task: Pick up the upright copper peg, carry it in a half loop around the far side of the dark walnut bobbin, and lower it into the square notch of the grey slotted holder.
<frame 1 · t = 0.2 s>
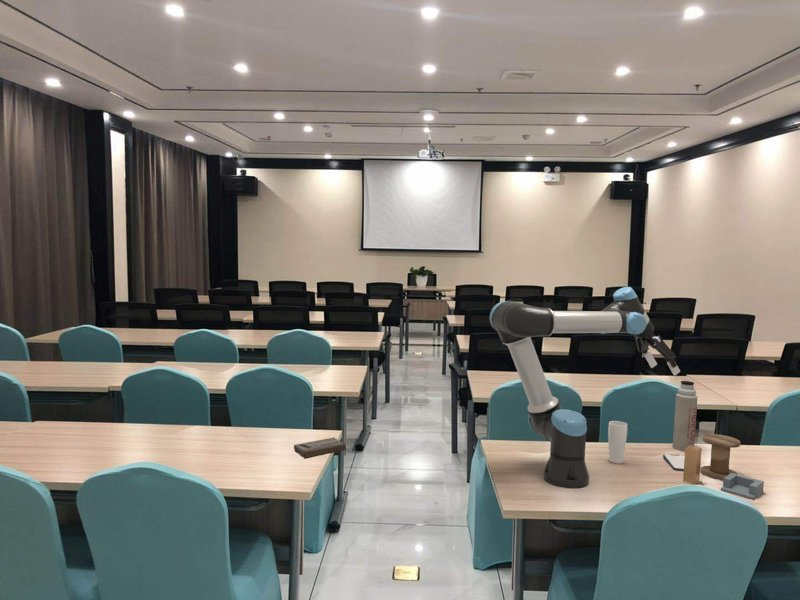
hand: (665, 369, 231), 35 cm above the table, tool tilted 35°, fingers open, 13 cm apart
smartphone: (679, 466, 229), on the table
grey slotted holder: (741, 491, 203), on the table
box: (319, 453, 232), on the table
drinking glass: (615, 462, 230), on the table
bobbin: (718, 474, 219), on the table
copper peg: (691, 481, 211), on the table
thermos bottle: (683, 448, 248), on the table
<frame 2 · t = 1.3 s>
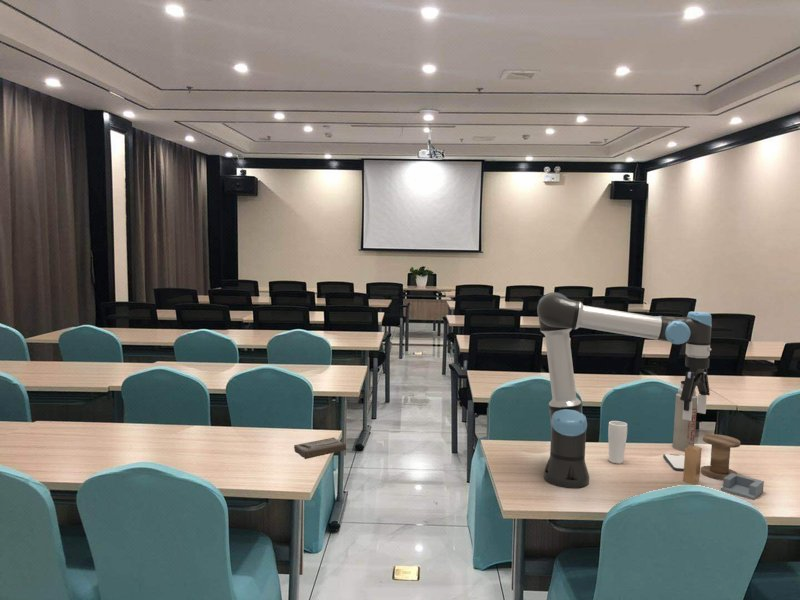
hand: (694, 416, 210), 23 cm above the table, tool pointing down, fingers open, 13 cm apart
nothing on the table moved.
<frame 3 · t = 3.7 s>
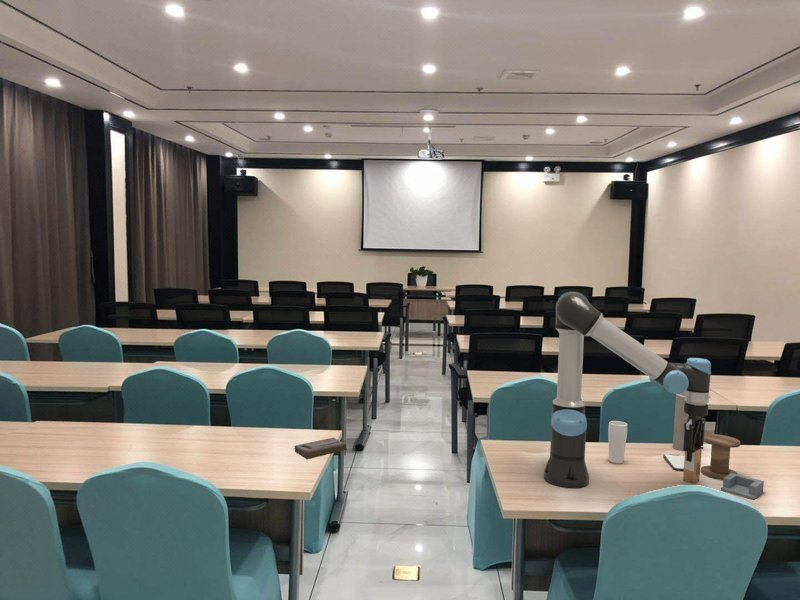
hand: (692, 468, 211), 5 cm above the table, tool pointing down, fingers closed on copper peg, 4 cm apart
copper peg: (691, 481, 211), on the table, touching gripper
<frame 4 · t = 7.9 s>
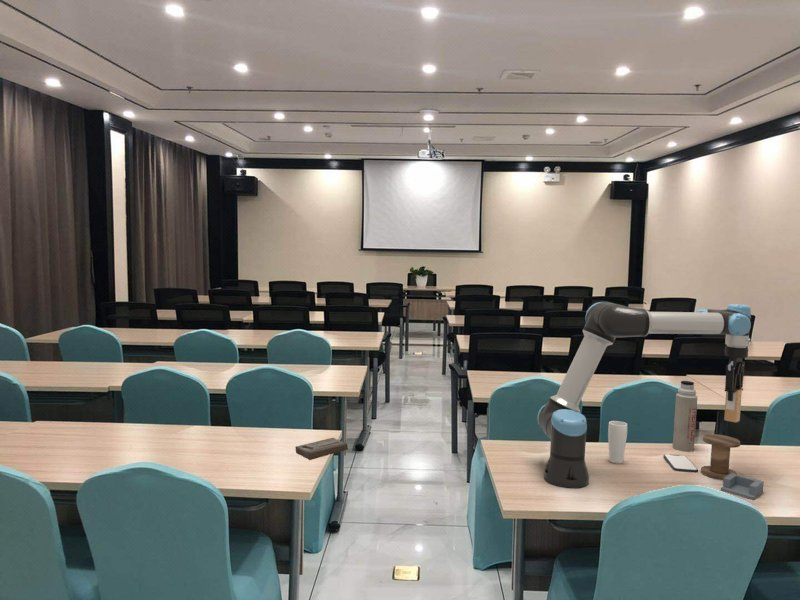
hand: (732, 408, 224), 23 cm above the table, tool pointing down, fingers closed on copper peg, 4 cm apart
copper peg: (731, 420, 224), point 18 cm above the table, touching gripper
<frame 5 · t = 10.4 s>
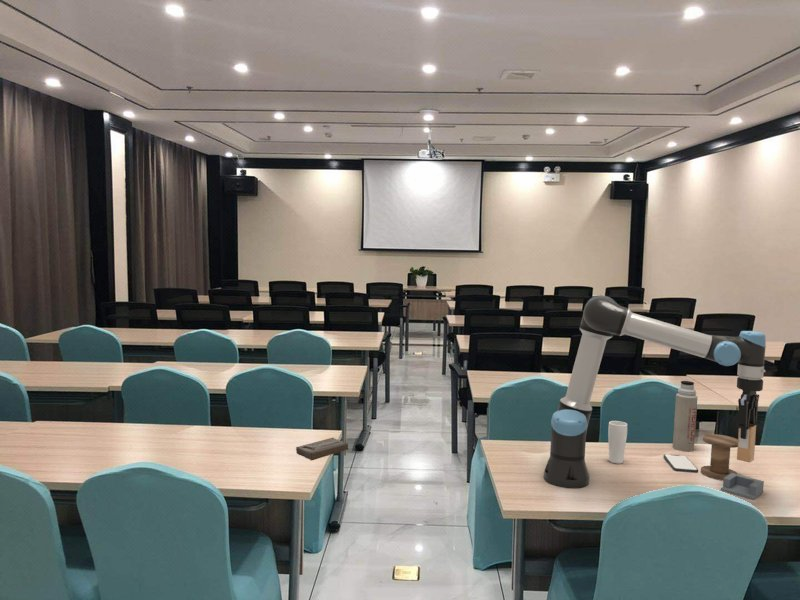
hand: (745, 446, 202), 16 cm above the table, tool pointing down, fingers closed on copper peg, 4 cm apart
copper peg: (745, 459, 202), point 11 cm above the table, touching gripper
when the fingers open (7 cm above the table, at t = 12.3 s): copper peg drops 1 cm, resting on grey slotted holder.
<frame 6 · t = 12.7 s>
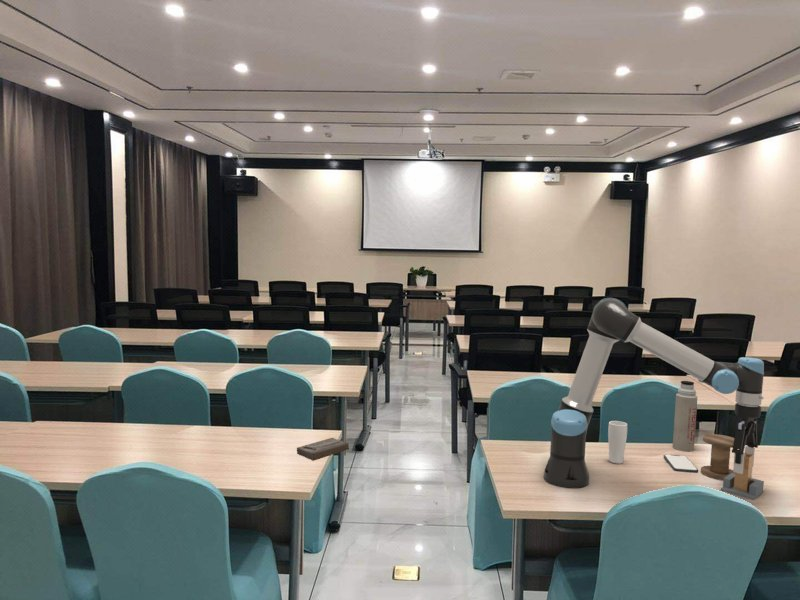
hand: (743, 469, 203), 8 cm above the table, tool pointing down, fingers open, 10 cm apart
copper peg: (742, 489, 203), point 1 cm above the table, touching grey slotted holder
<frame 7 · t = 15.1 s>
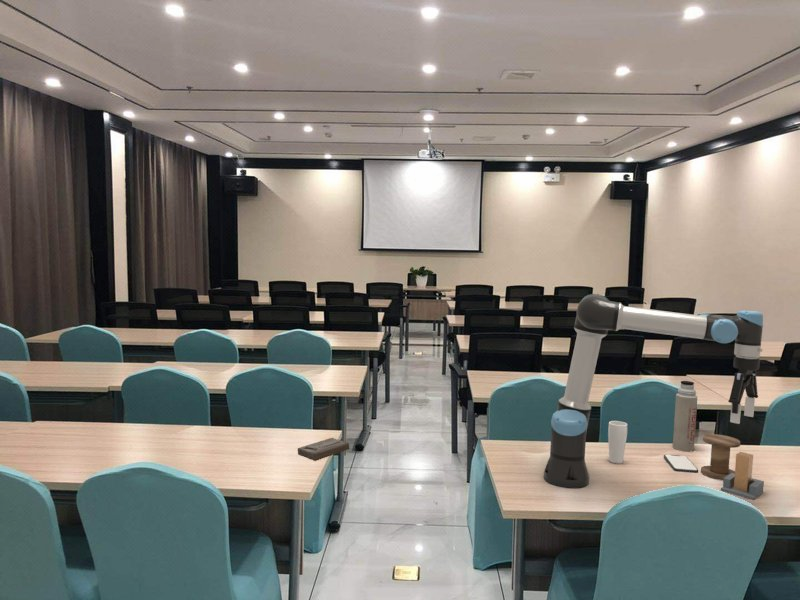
hand: (741, 419, 202), 25 cm above the table, tool pointing down, fingers open, 13 cm apart
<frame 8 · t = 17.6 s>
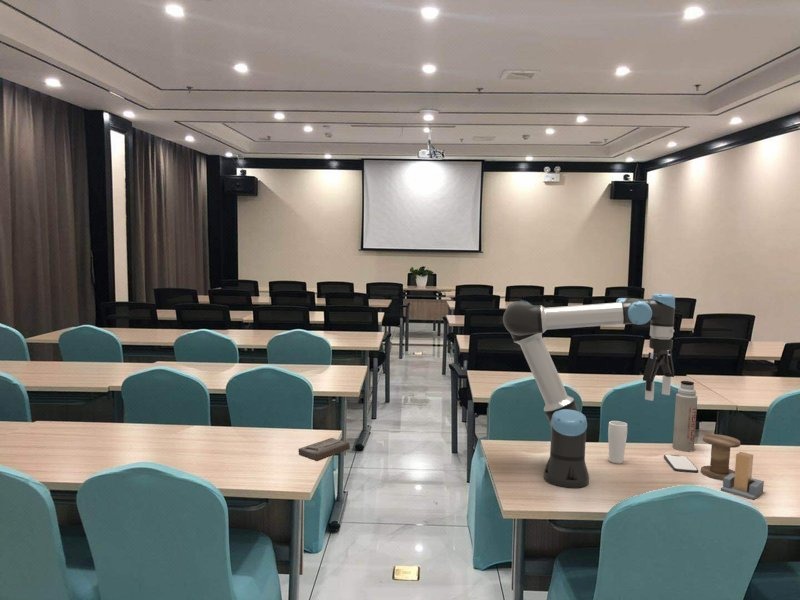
hand: (657, 397, 213), 29 cm above the table, tool pointing down, fingers open, 13 cm apart
at the end: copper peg 0.1 cm off-centre on the grey slotted holder, point 0.8 cm above the grey slotted holder's base; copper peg tilted 0°; the gripper is holding nothing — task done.
